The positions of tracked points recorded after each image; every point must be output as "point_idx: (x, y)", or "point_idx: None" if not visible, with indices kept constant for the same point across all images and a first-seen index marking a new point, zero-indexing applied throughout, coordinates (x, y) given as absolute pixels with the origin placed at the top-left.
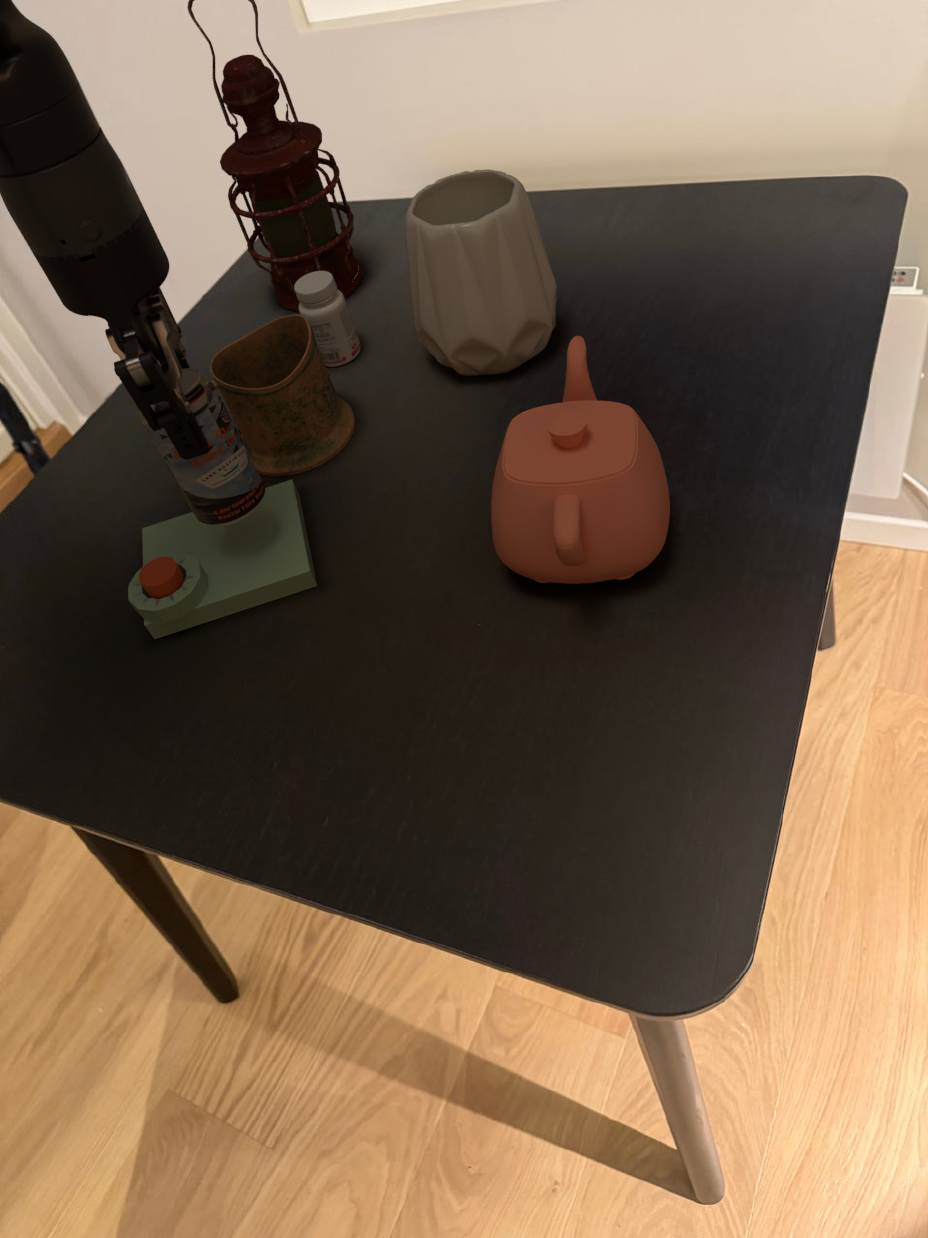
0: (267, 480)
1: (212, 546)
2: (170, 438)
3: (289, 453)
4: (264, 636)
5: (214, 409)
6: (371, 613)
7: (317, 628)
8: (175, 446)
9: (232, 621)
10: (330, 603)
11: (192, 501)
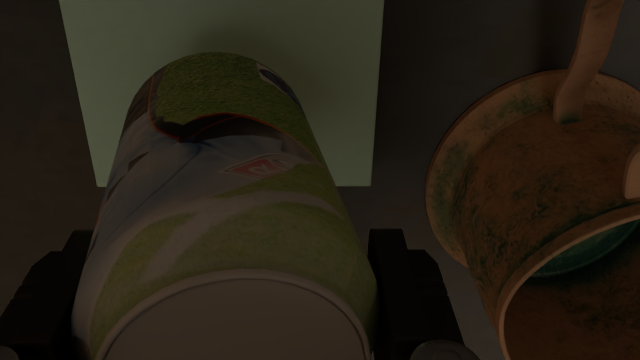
0: (446, 113)
1: (238, 7)
2: (44, 284)
3: (455, 188)
4: (5, 62)
5: None
6: (24, 232)
7: (7, 152)
8: (59, 260)
9: (59, 3)
10: (62, 179)
11: (140, 105)
